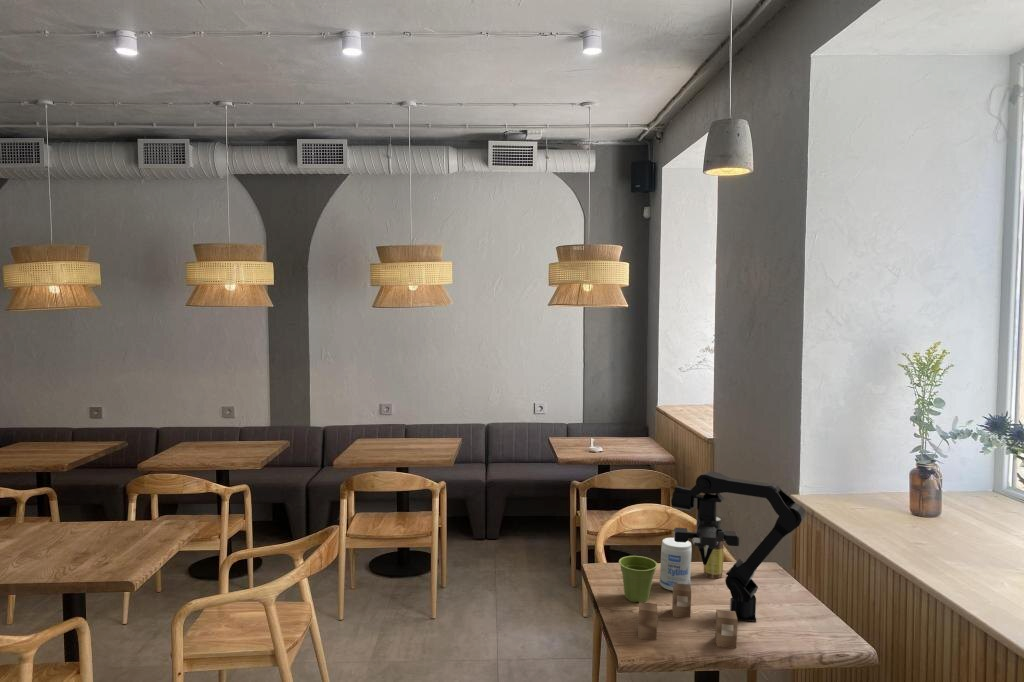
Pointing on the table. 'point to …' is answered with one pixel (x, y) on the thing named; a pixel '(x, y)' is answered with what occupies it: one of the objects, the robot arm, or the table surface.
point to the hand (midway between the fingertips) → (704, 564)
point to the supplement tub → (675, 563)
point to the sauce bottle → (715, 559)
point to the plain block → (647, 621)
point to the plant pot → (637, 577)
